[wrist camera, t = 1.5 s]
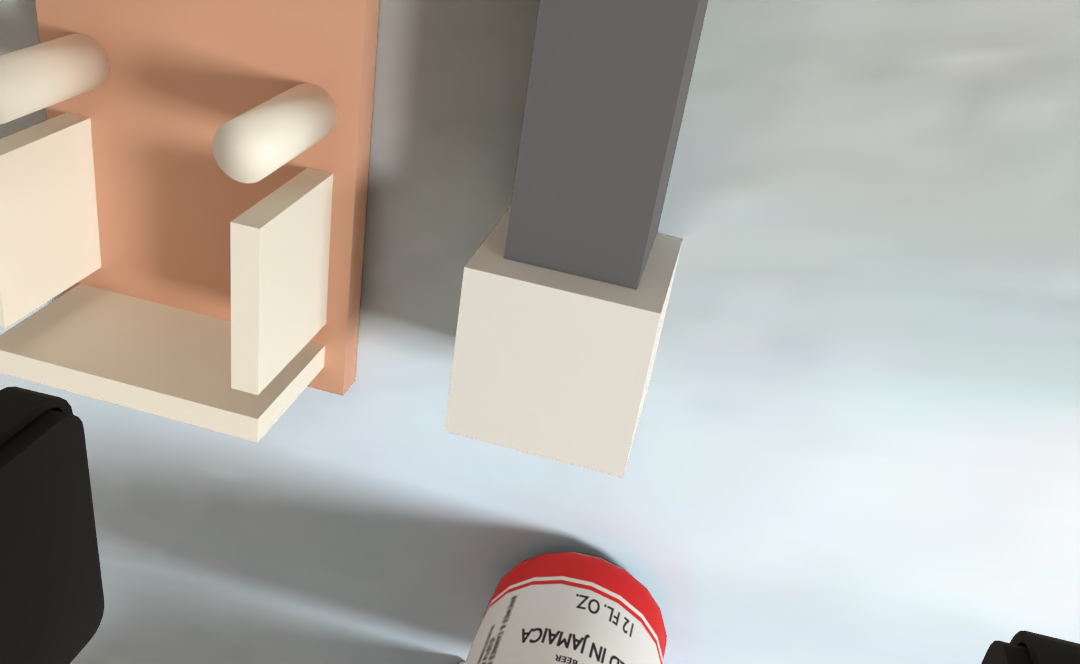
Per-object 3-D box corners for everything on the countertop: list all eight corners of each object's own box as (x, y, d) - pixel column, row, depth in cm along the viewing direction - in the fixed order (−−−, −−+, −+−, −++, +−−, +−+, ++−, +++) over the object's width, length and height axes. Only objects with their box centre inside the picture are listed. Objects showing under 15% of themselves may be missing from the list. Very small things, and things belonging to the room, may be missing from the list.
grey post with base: (630, -612, 21) (583, -726, 16) (875, -586, 20) (893, -696, 16) (493, 347, 32) (444, 431, 27) (648, 385, 31) (623, 477, 27)
